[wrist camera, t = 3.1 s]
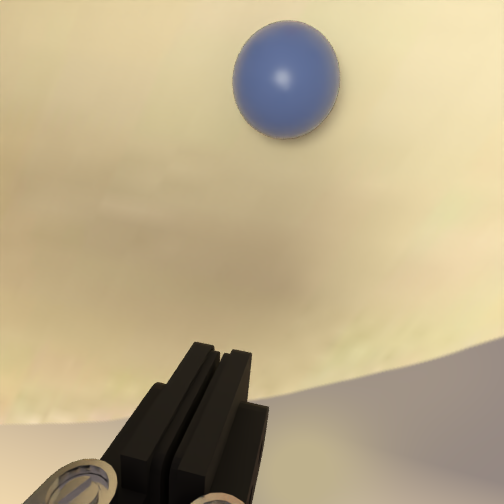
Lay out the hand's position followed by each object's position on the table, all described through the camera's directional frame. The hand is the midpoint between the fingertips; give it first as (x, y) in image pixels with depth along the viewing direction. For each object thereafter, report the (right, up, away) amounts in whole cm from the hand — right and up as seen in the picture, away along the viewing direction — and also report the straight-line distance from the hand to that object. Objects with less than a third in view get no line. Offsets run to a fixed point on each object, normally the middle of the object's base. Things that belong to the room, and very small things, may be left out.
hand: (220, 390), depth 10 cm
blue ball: (+3, +13, +8) cm, 15 cm away
